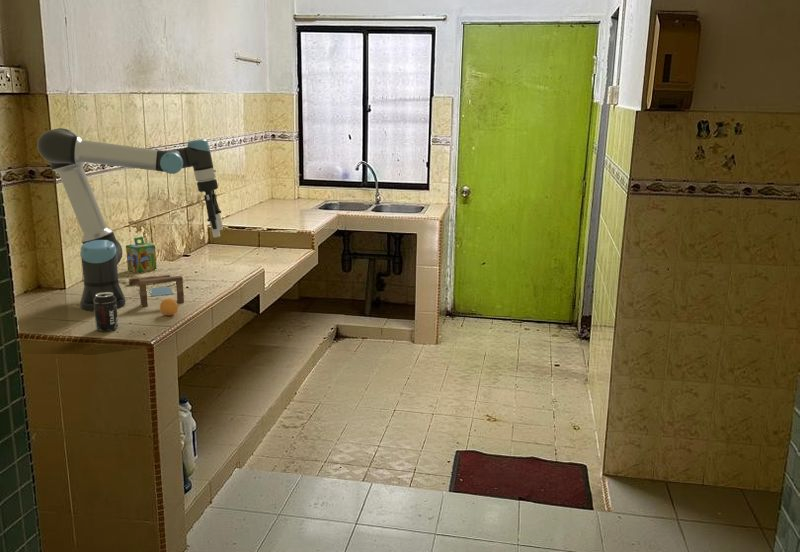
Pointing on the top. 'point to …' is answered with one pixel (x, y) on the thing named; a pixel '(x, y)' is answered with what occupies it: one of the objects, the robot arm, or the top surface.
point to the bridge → (159, 280)
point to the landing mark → (160, 291)
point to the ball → (169, 307)
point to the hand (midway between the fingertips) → (218, 233)
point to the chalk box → (141, 256)
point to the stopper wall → (136, 280)
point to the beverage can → (105, 311)
